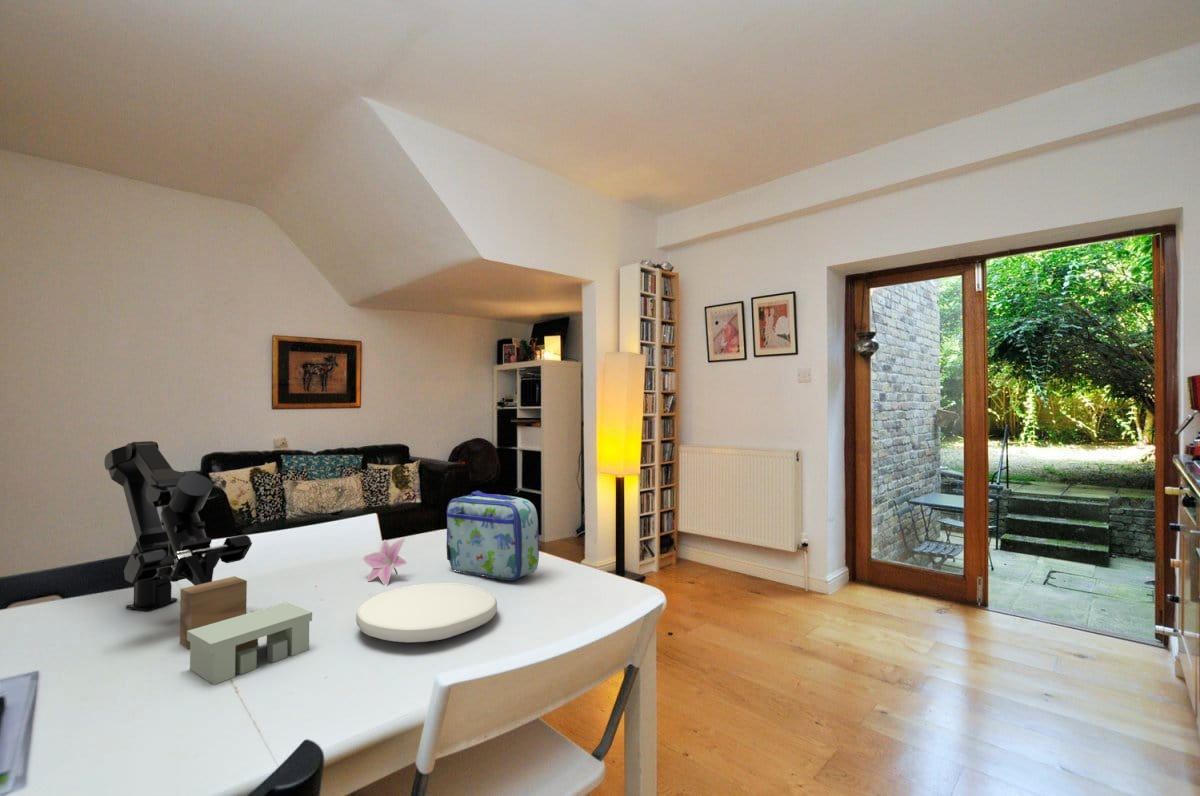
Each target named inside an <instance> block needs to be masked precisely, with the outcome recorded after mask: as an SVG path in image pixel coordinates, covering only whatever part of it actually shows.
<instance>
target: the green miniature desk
mask: <svg viewBox="0 0 1200 796" xmlns="http://www.w3.org/2000/svg"><path fill="white" fill-rule="evenodd" d="M312 621H313V611H310V610H308V609H305V608H302V607H300V606H297V605H295V604H292V603H290V602H287V601H286V602H283V603H279V604H276V605H272V606H269V607H265V608H261V609H258V610H255V611H252V612H248V613H247V612H246V614H244V615H240V616H237V617H233V618H230V619H226V620H223V621H220V622H216V623H213V624H209V625H206V626H202V627H199V628H195V629H192V630H188V631H187V640H188V641H189V642H190V649H189V650H190V651H189V670H190V671H192V672H193V673H195V674H196V675H199V676H200V677H201V678H202V679H204V680H206V681H208V683H210V684H212V685H217V684H219V683H222V682H225V681H227V680H230V679H233V678H235V677H236V674H238V675H240V676H241V675H244V674H246V673H249V672H253V671H254V670H257V658H258V657H257V656H258V655H257V650H256V649H254V648H249V649H246V650H243V651H240V652H237V653H235V646H236V645H239V644H242V643H245V642H248V641H251V640H254V639H257V638H258V639H260V638H263V637H266V646H267V647H266V661H268V662H271V663H273V664H274V663H276V662H279V661H282V660H284V659H287V658H288V655H290V656H292V657H293V656H295V655H298V654H300V653H304V652H306V651H309V650H310V622H312Z"/></svg>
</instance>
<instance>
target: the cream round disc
mask: <svg viewBox="0 0 1200 796" xmlns="http://www.w3.org/2000/svg"><path fill="white" fill-rule="evenodd" d="M497 610H498V601H497V598H496V597H495V595H494V594H493V592H490V591H489V590H486V589H485V588H482V587H481V586H477V585H474V584H467V583H461V582H429V583H421V584H420V583H419V584H414V585H408V586H402V587H398V588H394V589H390V590H387V591H385V592H382V593H379V594H376V595H374V596H373V597H370V598H369V599H367V600H366V601H364V602H363V603H362V604H361V605H360V606H359V607H358V609H357V611H356V615H355V617H356V618H355V620H356V621H355V622H356V625H357V627H358V628H359V630H360V631H361V632H362V633H364V634H366V635H367V636H369V637H373V638H377V639H380V640H384V641H389V642H398V643H426V642H433V641H439V640H440V641H441V640H445V639H449V638H452V637H455V636H458V635H461V634H464V633H466V632H469V631H472V630H473V629H476V628H478V627H481V626H482V625H485V624H486V623H488V622H489V621H491V620H492V619H493V618H494V616H495V615H496V613H497Z"/></svg>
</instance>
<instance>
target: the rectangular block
mask: <svg viewBox="0 0 1200 796" xmlns="http://www.w3.org/2000/svg"><path fill="white" fill-rule="evenodd" d="M247 582H248V581H247V580H245V579H243V578H240V577H238V576H229V577H227V578H226V577H225V578H221V579H218V580H212V582H208V583H204V584H199V585H191V586H186V587H182V588H180V601H179V604H180V605H179V606H180V611H179V612H180V615H179V645H182V646H183V647H185V648H187V649H188V650H190V642H189V641H188V640H187V631H188V630H192V629H195V628H199V627H202V626H206V625H209V624H213V623H216V622H220V621H223V620H226V619H230V618H233V617H237V616H240V615H244V614H247V599H248V598H247V593H248V592H247V591H248V590H247V587H248V585H247ZM258 646H259V638H257V639H254V640H251V641H248V642H245V643H242V644H239V645H236V646H235V653H237V652H240V651H243V650H246V649H249V648H252V649H254V648H256V647H258Z"/></svg>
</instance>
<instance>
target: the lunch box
mask: <svg viewBox="0 0 1200 796" xmlns="http://www.w3.org/2000/svg"><path fill="white" fill-rule="evenodd" d="M539 541H540V536H539V519H538V512H537V509H536V507H535V505H534V504H533V502H531V501H530V500H529V499H526V498H523V497H519V496H512V495H503V494H491V493H484V492H482V491H480V490H476V491H472V492H471V494H468V495H463V496H460V497H455V498H452V499H451V500H450V501H449V502H448V505H447V508H446V547H445V548H446V557H447V558H446V560H447V561H448V562H449V566H450V568H451V569H452V571H453V570H456V571H460V572H465V573H464V574H468V573H469V575H474V574H475V576H479V575H484V576H488V577H487V578H490V577H493V578H492V579H495V578H498V579H497V580H501V581H508V582H509V581H511V582H515V581H516V580H518V579H519V578H521V577H525V576H527V575H530V574H533V573H534V572H535V571H536V570H537V569H538V566H539V557H540V555H539V554H540V553H539V552H540V546H539V545H540V543H539ZM484 576H483V577H484Z"/></svg>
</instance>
